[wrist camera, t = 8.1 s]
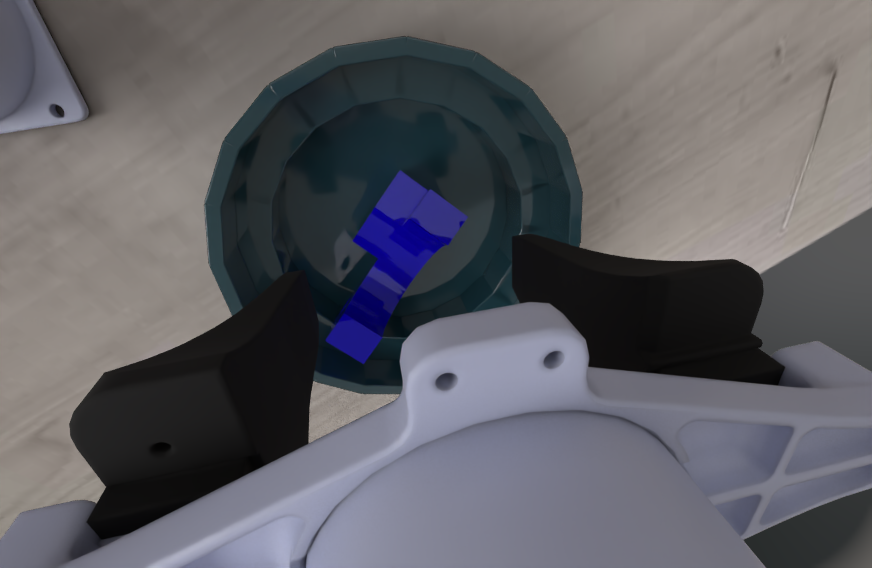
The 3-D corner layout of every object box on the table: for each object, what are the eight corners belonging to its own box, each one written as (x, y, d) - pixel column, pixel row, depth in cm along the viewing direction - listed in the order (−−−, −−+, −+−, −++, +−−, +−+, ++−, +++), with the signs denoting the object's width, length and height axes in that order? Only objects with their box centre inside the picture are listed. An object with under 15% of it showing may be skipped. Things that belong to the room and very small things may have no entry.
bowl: (293, 364, 25) (282, 425, 21) (178, 76, 18) (122, 78, 13) (539, 309, 27) (576, 355, 23) (536, 21, 19) (590, 7, 15)
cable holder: (398, 173, 21) (400, 167, 17) (454, 214, 21) (468, 216, 18) (312, 300, 21) (294, 322, 18) (368, 335, 22) (363, 364, 18)
